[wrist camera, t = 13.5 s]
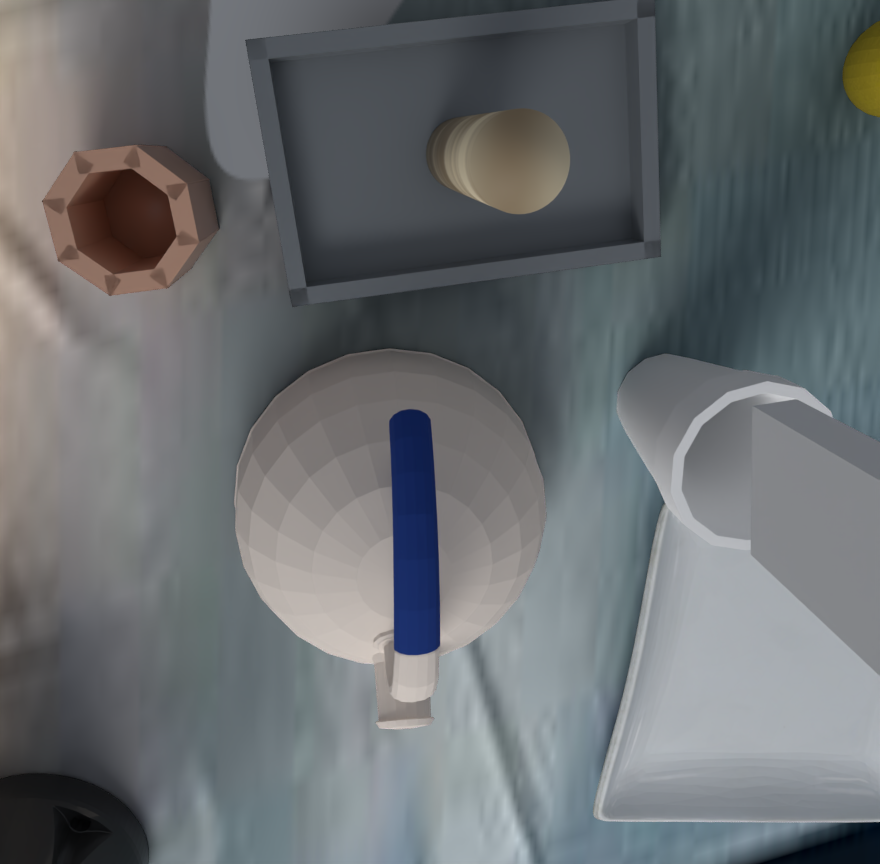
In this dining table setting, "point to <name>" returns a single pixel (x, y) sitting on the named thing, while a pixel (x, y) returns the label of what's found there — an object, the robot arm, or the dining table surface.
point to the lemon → (864, 71)
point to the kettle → (390, 515)
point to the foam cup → (701, 438)
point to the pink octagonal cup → (130, 217)
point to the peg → (501, 158)
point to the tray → (426, 107)
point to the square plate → (737, 700)
